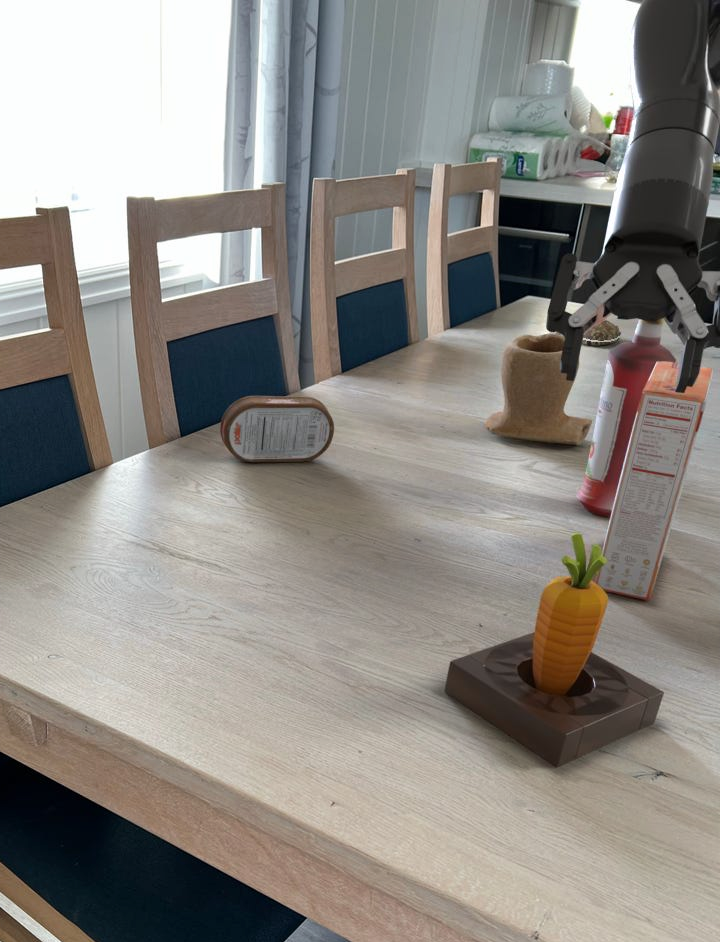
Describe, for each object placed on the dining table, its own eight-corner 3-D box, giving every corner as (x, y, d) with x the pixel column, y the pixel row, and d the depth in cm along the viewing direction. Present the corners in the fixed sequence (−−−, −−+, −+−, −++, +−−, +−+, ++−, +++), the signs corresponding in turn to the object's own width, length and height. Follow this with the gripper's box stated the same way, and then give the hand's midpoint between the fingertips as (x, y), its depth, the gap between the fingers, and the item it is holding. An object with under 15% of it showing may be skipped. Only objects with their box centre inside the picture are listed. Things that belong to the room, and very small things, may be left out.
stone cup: (479, 444, 141) (499, 338, 133) (486, 421, 151) (505, 322, 143) (588, 460, 137) (614, 352, 130) (588, 436, 147) (612, 334, 140)
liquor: (567, 496, 124) (622, 263, 110) (625, 501, 124) (688, 268, 110) (578, 517, 118) (638, 273, 104) (640, 523, 117) (708, 279, 103)
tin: (326, 455, 132) (333, 394, 128) (333, 463, 130) (340, 401, 125) (218, 457, 129) (221, 394, 125) (222, 465, 126) (226, 401, 122)
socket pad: (539, 656, 87) (547, 627, 86) (654, 723, 79) (664, 692, 77) (443, 691, 81) (449, 660, 80) (557, 767, 73) (565, 735, 71)
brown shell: (627, 341, 209) (633, 317, 207) (601, 349, 201) (607, 324, 199) (572, 330, 217) (577, 307, 214) (545, 336, 209) (550, 312, 206)
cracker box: (607, 542, 111) (655, 358, 101) (662, 554, 109) (718, 367, 99) (588, 589, 100) (640, 387, 90) (649, 603, 98) (710, 398, 88)
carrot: (581, 727, 78) (629, 557, 70) (518, 718, 78) (558, 549, 71) (574, 694, 82) (618, 531, 74) (514, 686, 83) (552, 523, 75)
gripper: (574, 170, 80) (537, 351, 77) (764, 179, 76) (731, 370, 73) (567, 226, 87) (533, 393, 85) (740, 237, 83) (710, 413, 80)
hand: (625, 382), depth 79 cm, fingers open, 8 cm apart
